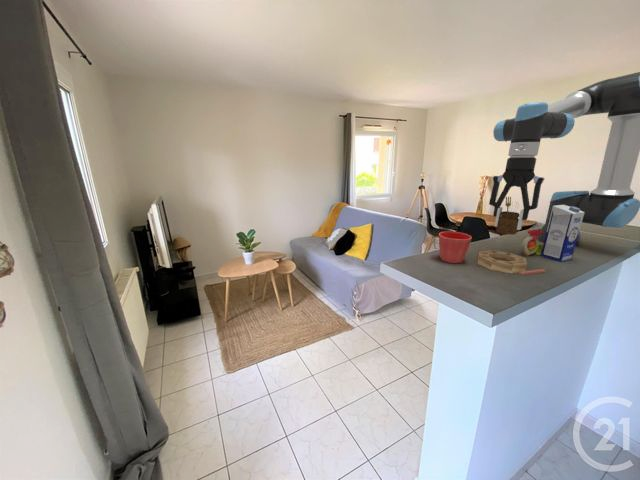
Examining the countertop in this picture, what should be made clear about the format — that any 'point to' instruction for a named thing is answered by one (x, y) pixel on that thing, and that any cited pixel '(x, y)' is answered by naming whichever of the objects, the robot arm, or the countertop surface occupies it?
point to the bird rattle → (532, 243)
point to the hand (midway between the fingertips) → (507, 227)
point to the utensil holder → (508, 221)
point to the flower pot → (453, 246)
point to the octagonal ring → (502, 261)
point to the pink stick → (532, 272)
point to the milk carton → (562, 232)
